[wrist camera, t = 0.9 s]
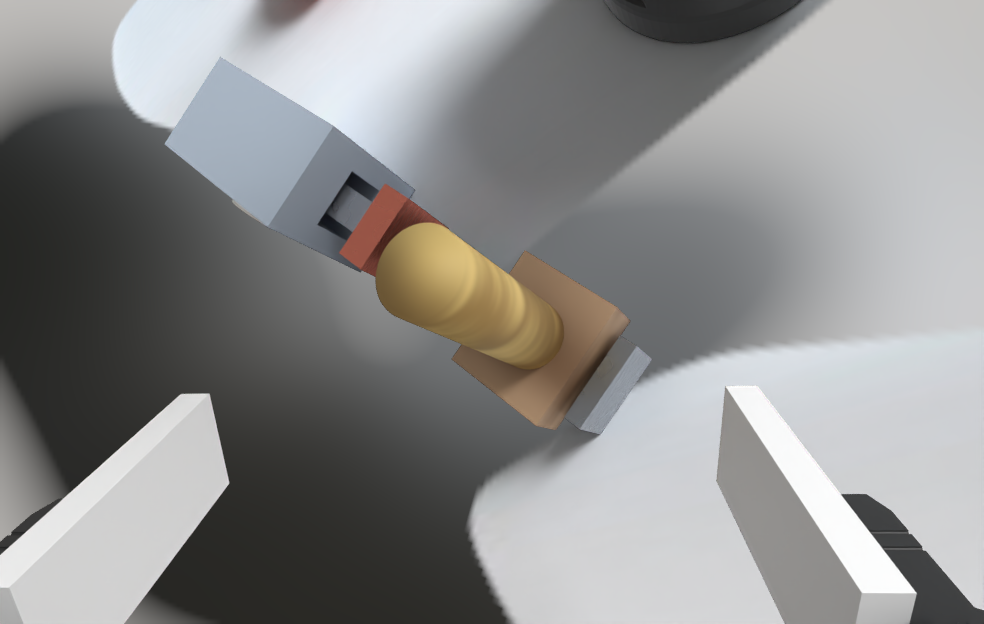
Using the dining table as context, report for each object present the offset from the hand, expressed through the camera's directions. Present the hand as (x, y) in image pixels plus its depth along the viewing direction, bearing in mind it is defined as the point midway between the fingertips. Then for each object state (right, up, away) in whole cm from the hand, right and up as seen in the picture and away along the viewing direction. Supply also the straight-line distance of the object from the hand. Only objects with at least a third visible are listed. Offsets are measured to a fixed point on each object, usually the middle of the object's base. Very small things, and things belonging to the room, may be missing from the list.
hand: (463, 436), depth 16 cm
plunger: (-8, +10, +26) cm, 29 cm away
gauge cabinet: (-11, +12, +31) cm, 35 cm away
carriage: (+3, +2, +19) cm, 19 cm away
